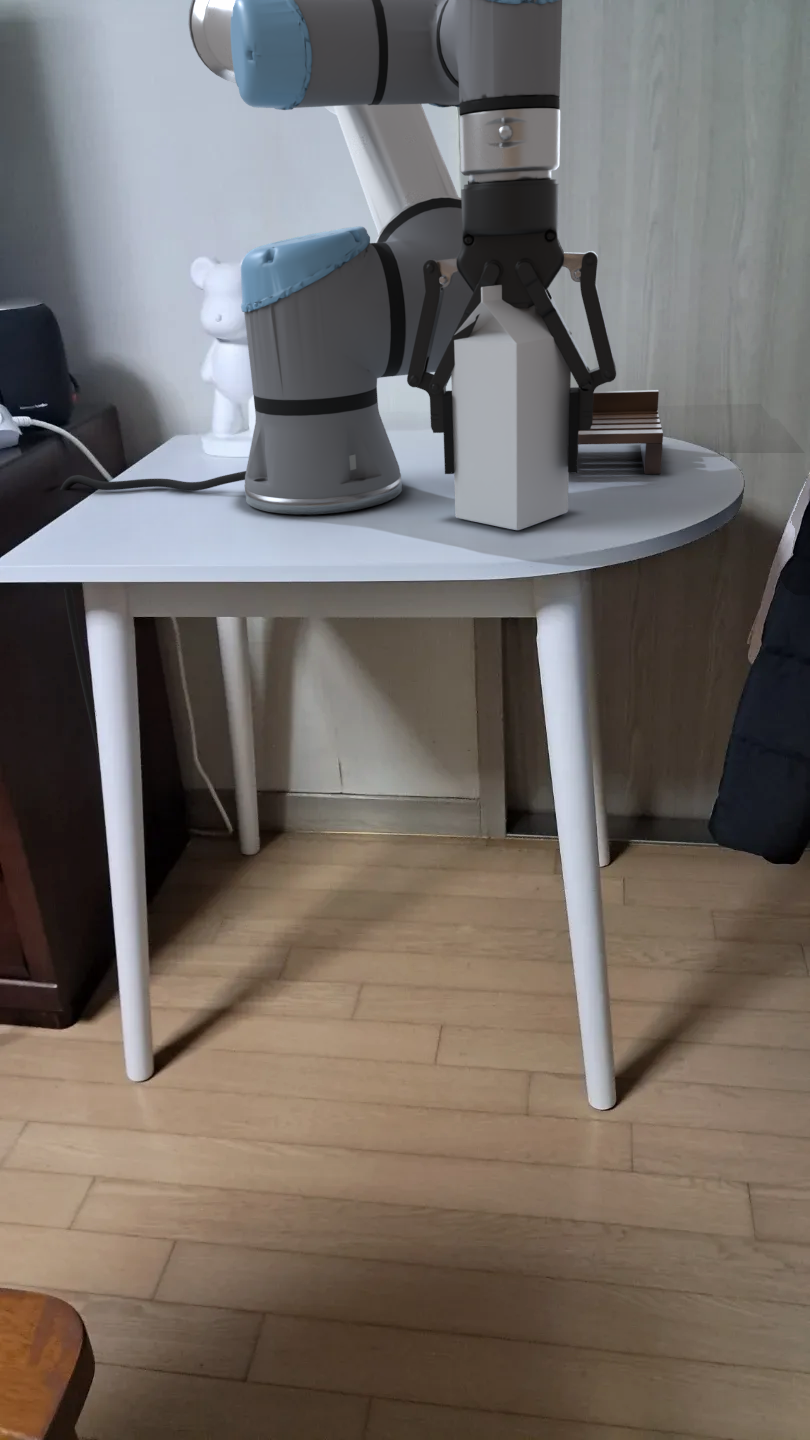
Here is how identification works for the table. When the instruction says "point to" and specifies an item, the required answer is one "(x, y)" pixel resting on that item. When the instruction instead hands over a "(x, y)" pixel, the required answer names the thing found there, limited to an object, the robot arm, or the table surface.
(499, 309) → the milk carton
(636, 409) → the wooden bench
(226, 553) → the table surface
